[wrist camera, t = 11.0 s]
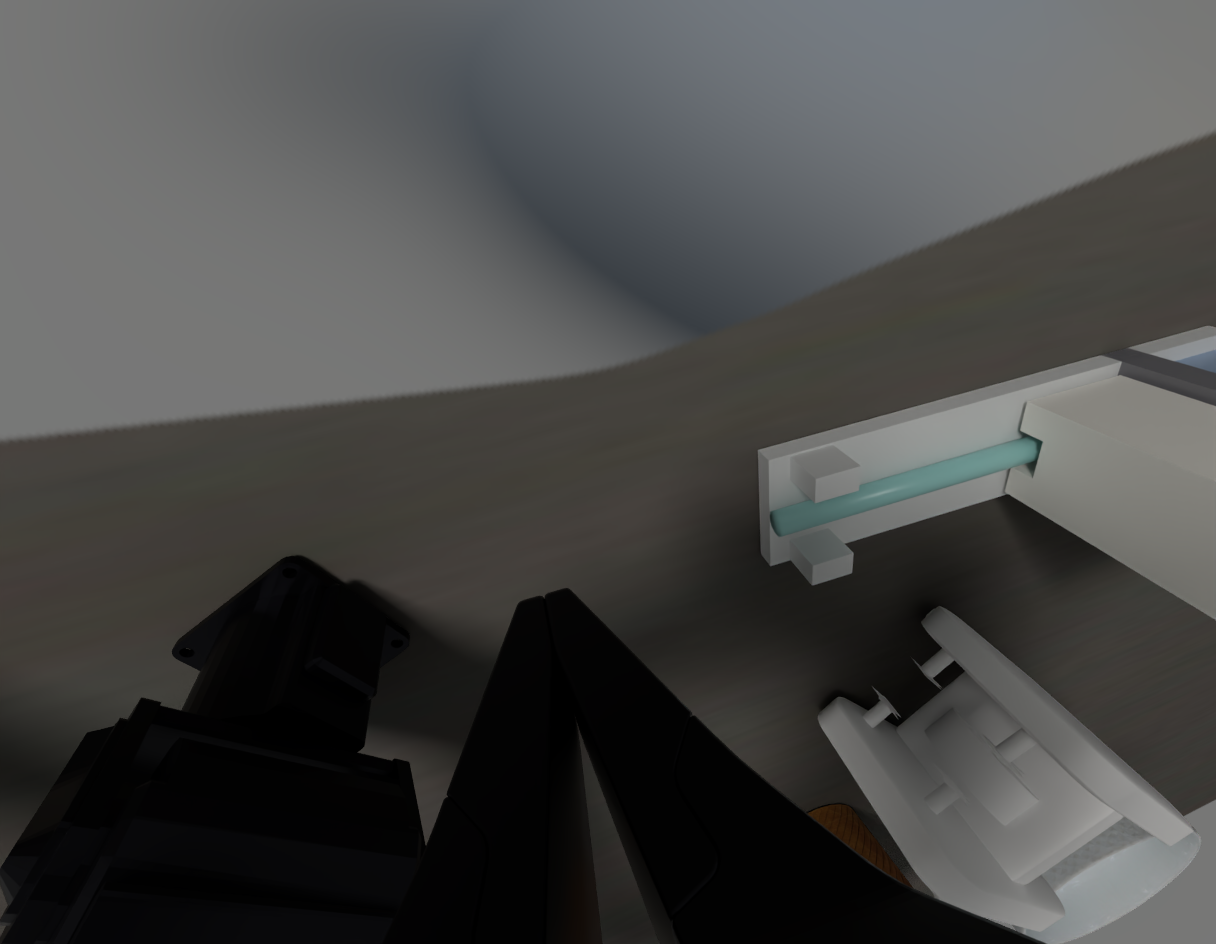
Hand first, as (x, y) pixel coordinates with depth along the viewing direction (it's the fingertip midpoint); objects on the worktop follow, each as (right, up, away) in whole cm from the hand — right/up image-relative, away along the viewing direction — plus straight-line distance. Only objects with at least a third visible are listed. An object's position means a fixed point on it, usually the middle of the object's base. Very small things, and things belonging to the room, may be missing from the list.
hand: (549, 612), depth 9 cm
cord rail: (+20, +4, +19) cm, 27 cm away
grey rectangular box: (+23, +4, +18) cm, 29 cm away
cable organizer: (+21, -12, +28) cm, 37 cm away
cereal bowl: (+42, -30, +44) cm, 67 cm away
